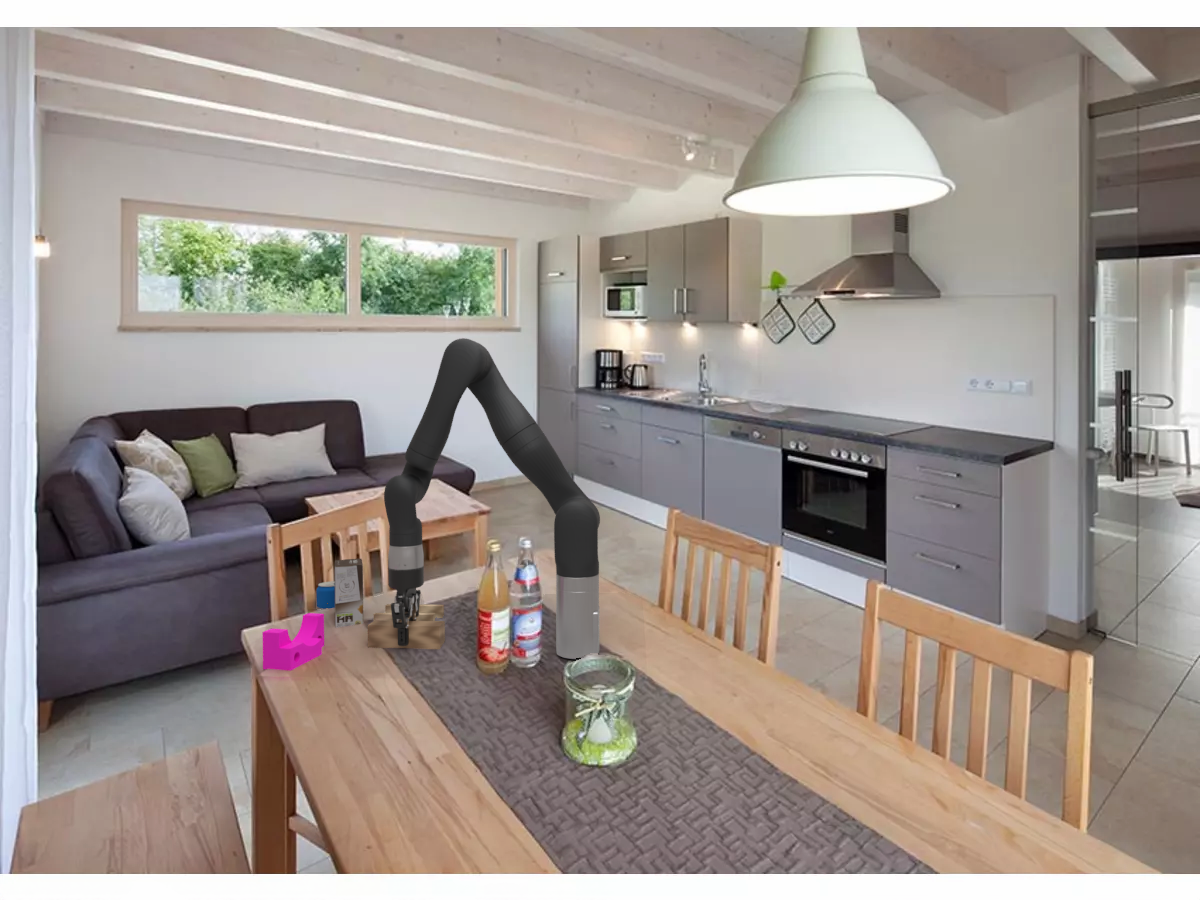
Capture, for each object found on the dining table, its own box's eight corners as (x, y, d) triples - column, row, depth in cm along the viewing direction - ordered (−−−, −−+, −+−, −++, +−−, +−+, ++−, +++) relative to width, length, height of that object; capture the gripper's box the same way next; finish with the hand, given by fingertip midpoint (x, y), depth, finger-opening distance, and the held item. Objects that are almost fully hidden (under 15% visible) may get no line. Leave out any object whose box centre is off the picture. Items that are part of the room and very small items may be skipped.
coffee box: (363, 632, 166) (363, 564, 165) (334, 635, 163) (334, 566, 163) (362, 622, 174) (362, 557, 174) (335, 624, 172) (334, 559, 172)
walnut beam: (444, 643, 157) (444, 621, 156) (439, 649, 153) (439, 626, 153) (374, 642, 158) (374, 620, 158) (367, 647, 154) (367, 625, 154)
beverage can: (347, 627, 181) (347, 580, 181) (339, 634, 174) (338, 586, 174) (322, 627, 181) (321, 581, 180) (312, 634, 174) (312, 586, 174)
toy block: (290, 671, 139) (290, 634, 139) (263, 669, 141) (262, 632, 140) (334, 648, 154) (334, 614, 154) (309, 646, 155) (308, 612, 155)
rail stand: (449, 623, 174) (449, 602, 173) (435, 638, 161) (435, 616, 160) (385, 622, 174) (385, 602, 174) (366, 637, 161) (366, 616, 161)
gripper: (413, 571, 147) (413, 652, 148) (431, 559, 162) (432, 633, 162) (377, 571, 148) (378, 652, 148) (399, 558, 162) (400, 632, 162)
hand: (406, 641), depth 155 cm, fingers closed on walnut beam, 4 cm apart
